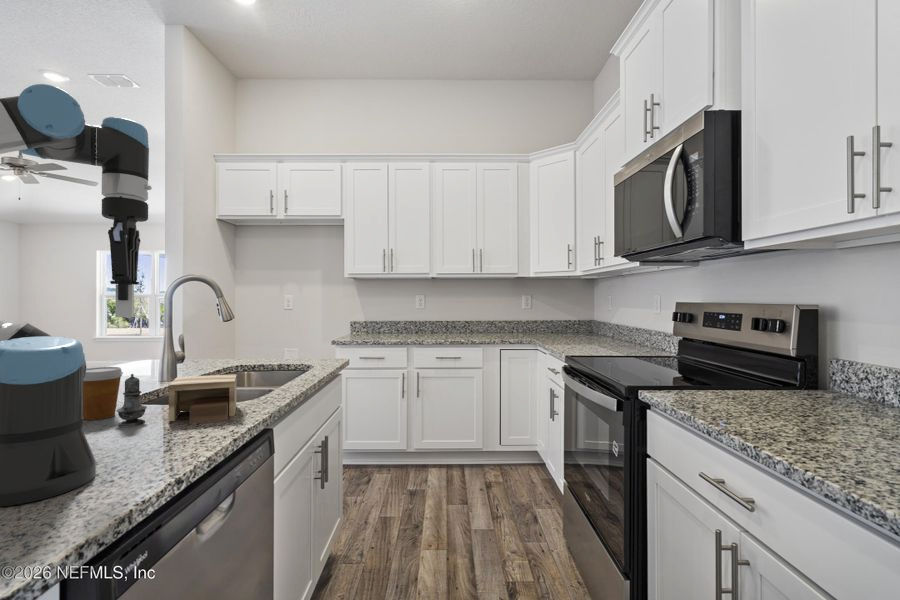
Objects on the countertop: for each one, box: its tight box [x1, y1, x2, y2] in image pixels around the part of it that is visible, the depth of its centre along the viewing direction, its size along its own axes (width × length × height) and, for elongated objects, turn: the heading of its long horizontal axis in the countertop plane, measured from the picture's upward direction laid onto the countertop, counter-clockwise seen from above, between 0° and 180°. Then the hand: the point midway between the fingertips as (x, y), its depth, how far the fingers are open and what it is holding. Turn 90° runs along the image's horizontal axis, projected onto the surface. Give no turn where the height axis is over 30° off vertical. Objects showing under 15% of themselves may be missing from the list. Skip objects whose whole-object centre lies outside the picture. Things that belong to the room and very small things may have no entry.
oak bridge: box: [168, 373, 238, 423], centre depth 114 cm, size 11×14×9 cm
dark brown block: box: [189, 396, 229, 425], centre depth 112 cm, size 12×8×4 cm, turn 23°
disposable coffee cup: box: [83, 366, 124, 421], centre depth 110 cm, size 10×10×12 cm
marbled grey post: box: [116, 373, 148, 427], centre depth 105 cm, size 6×6×12 cm
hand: (124, 316), depth 88 cm, fingers closed
